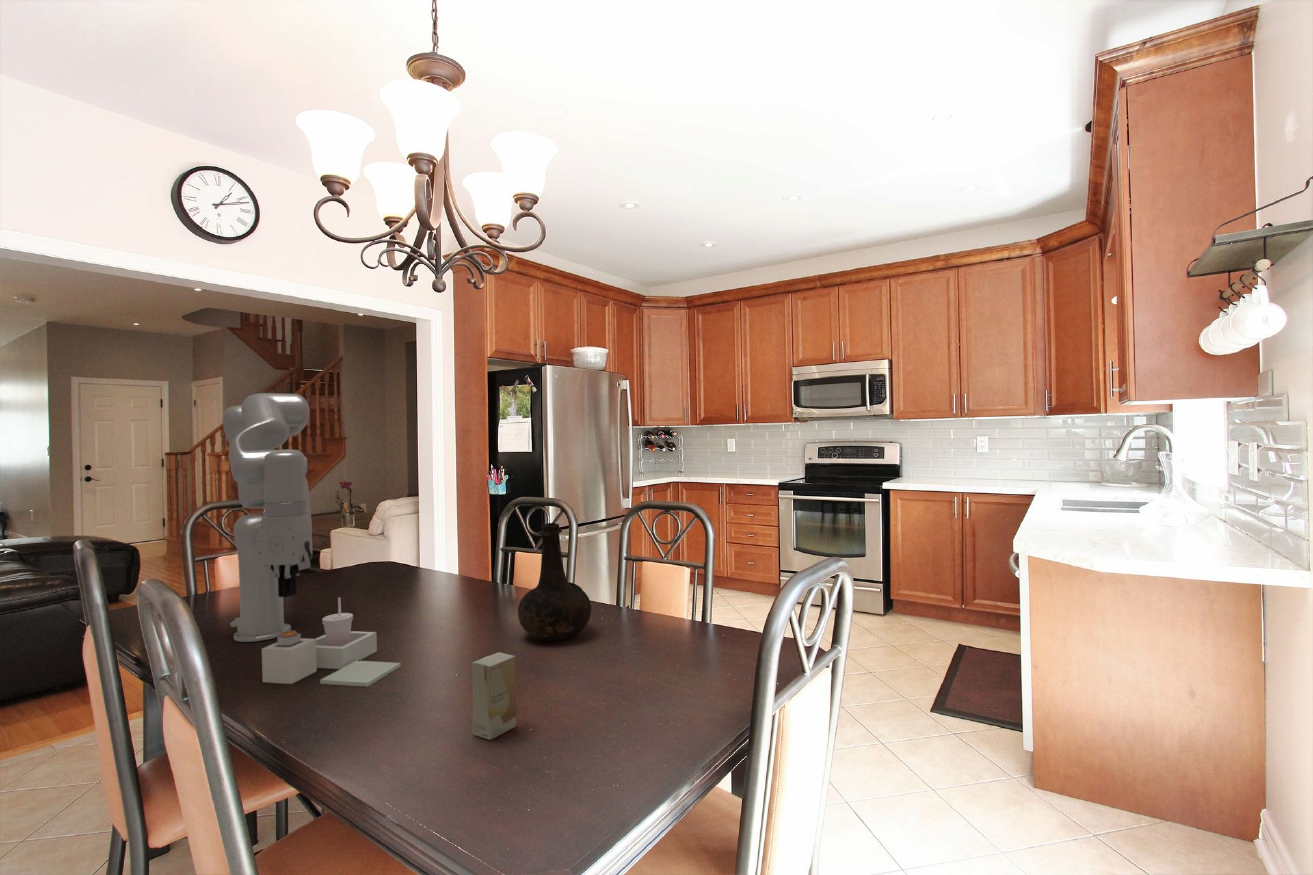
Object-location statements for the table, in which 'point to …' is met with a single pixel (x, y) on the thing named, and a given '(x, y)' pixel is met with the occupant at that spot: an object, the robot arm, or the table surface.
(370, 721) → the table surface
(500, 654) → the skincare box
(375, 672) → the coaster
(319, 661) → the holder
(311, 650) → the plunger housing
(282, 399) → the robot arm
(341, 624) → the smoothie
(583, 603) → the glass bottle
